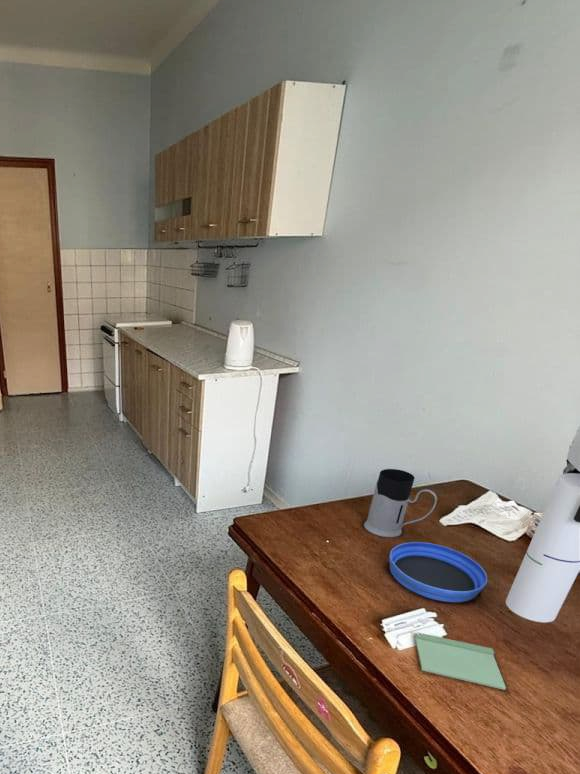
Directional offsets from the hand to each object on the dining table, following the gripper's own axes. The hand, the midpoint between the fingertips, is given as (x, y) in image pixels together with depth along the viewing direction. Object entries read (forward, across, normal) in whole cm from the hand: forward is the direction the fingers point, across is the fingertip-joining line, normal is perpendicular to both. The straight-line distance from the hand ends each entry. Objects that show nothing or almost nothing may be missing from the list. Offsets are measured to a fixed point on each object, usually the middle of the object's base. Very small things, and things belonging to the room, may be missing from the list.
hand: (575, 509), depth 75 cm
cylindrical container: (+20, 0, 0) cm, 20 cm away
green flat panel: (+26, -11, +12) cm, 31 cm away
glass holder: (+26, +32, +18) cm, 45 cm away
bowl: (+26, +14, +12) cm, 32 cm away
